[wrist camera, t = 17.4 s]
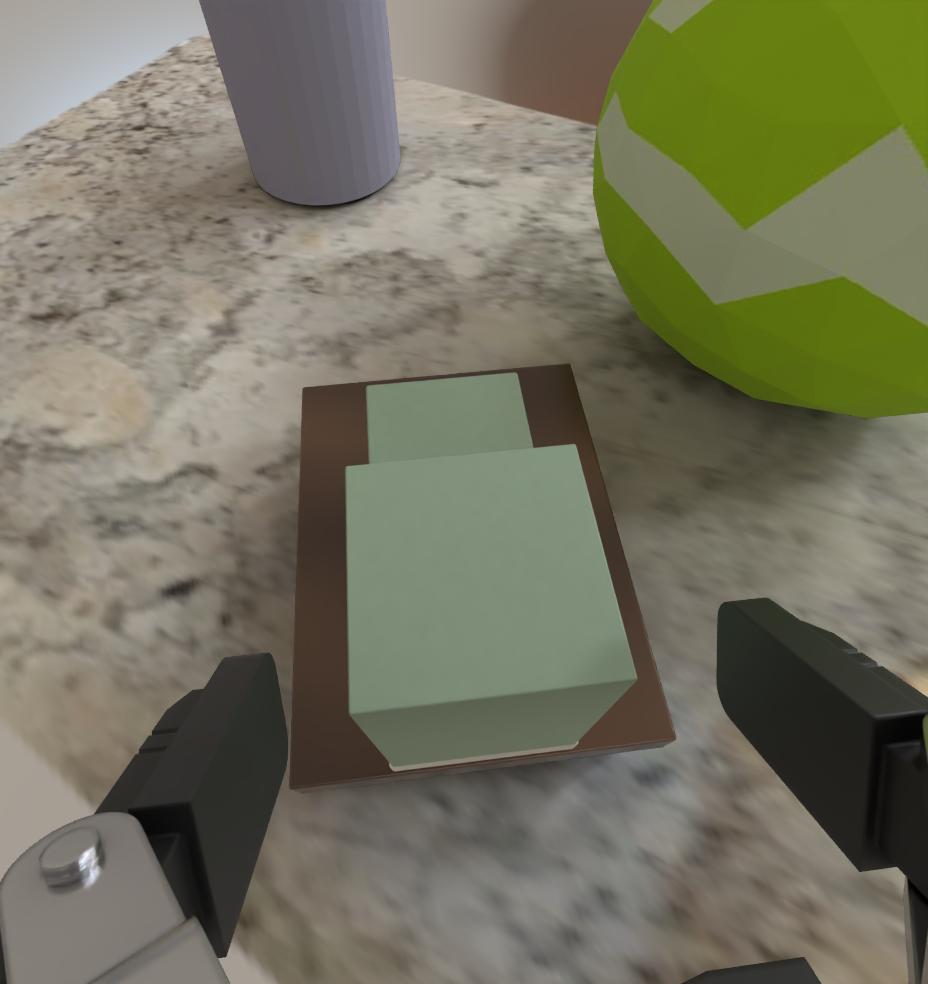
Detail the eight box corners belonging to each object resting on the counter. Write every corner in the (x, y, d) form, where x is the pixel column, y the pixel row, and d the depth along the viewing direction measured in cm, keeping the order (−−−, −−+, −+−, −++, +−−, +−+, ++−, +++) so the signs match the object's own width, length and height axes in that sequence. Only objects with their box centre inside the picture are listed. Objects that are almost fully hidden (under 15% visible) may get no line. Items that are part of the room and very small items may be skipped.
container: (226, 163, 42) (123, -137, 30) (345, 112, 46) (298, -174, 33) (308, 230, 38) (228, -84, 25) (430, 169, 42) (414, -133, 29)
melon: (1010, 624, 24) (2273, 91, 7) (499, 373, 32) (537, -186, 15) (1068, 335, 33) (1713, -220, 16) (655, 190, 40) (793, -297, 23)
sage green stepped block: (574, 748, 18) (644, 679, 11) (392, 772, 18) (342, 716, 11) (513, 438, 25) (531, 263, 17) (377, 451, 24) (338, 278, 17)
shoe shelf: (321, 440, 29) (302, 386, 26) (558, 418, 30) (570, 362, 27) (317, 800, 21) (288, 789, 18) (645, 757, 22) (678, 739, 18)
